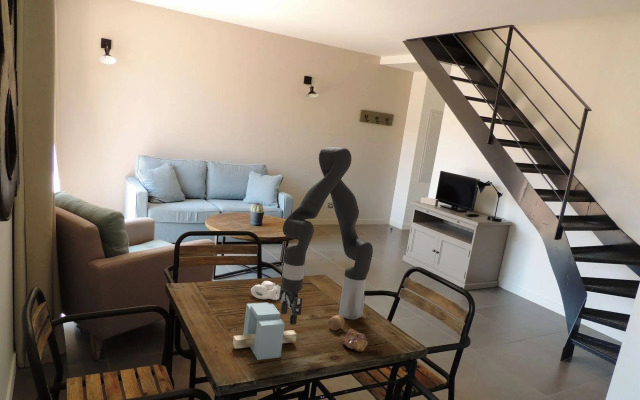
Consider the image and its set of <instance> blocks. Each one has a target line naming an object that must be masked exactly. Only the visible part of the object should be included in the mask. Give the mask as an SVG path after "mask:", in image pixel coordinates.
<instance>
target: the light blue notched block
mask: <svg viewBox="0 0 640 400" xmlns="http://www.w3.org/2000/svg"><path fill="white" fill-rule="evenodd" d="M245 308H246V309H245V315H244V322H243V323H244V324H243V325H244V326H243V332H242V333H243V334H242V335H249V334H256V335H255V344H254V347H249V348H250V350H251V351H252V353H253V355H254V356H255V358H256V359H257V360H258V361H259V360H261V361H262V360H269V359H278V358H282V357H281V356H282V350H283V349H282V348H283V347H282V346H283V343H282V341H283V334H284V331H285V327H286V326H285V325H286V323H285V322H284V321H283V320H282V319H281V311H279V310H278V309H277V308H276V306H275V304H273V303H269V302H254V303H246V307H245ZM257 360H256V361H257Z"/></svg>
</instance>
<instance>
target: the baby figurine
mask: <svg viewBox="0 0 640 400" xmlns="http://www.w3.org/2000/svg"><path fill="white" fill-rule="evenodd" d="M280 288H281V285H278V284H277V285H276V282H272V281H269V280H264V281H263V282H262V283H261V284H255V285H254V286H252V287H251V288H250V293H251V295H252V296H253V297H254V298H256V299H259V300H268V299H269V300H271V301H272V300H273V301H278V300H280V299H279V296H280Z"/></svg>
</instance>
